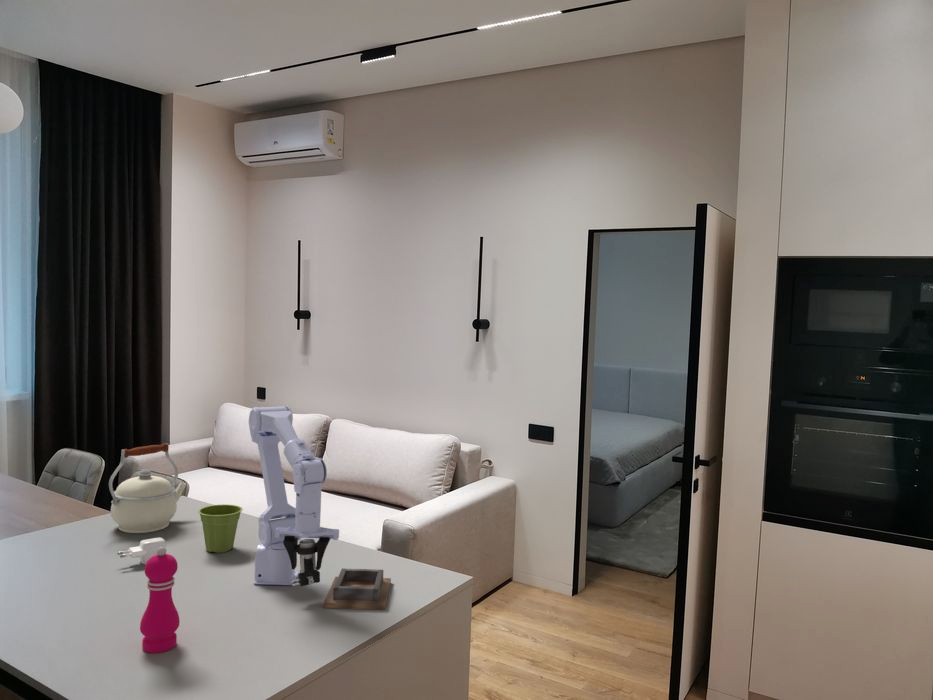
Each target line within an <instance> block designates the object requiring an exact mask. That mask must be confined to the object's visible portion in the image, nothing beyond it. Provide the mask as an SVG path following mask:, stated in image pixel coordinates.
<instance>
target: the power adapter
mask: <svg viewBox="0 0 933 700" xmlns="http://www.w3.org/2000/svg"><path fill="white" fill-rule="evenodd" d="M166 544H167V543H166V540H165V539H164V538H163V537H153V538H147V539H142V540H140V542H139V545H137V546H132V547H128V550H124V551H123V550H122V551H117V555H119V558H122V559H123V558H127V557H131V558H132V559H135V558H136V559H137V558H138V559H139V562H140V564H141V565H146V562H147V561H148V560H149V559H150V558H151V557H152V556H154V555H157V549H158V548H160V547H164V548H167V546H166Z"/></svg>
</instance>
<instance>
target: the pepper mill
mask: <svg viewBox="0 0 933 700" xmlns="http://www.w3.org/2000/svg"><path fill="white" fill-rule="evenodd" d="M166 548H167V547H166ZM166 548H164V547H160V548H158V549H157V555H154V556H152V557H151V558H150V559H149V560H148V561H147V562H146V565H145V566H144V574H145V576H146V578H148V579H147V580H146V588H147V589H148V590H149V591H148V592H149V598H148V603H147V607H146V608H145V611H144V612H143V614H142V617H141V620H140V624H139V631H140V633H141V634H142V636H144V637H142V640H141V641H142V642H141V647H142V650H143V651H144V652H146V653H149V654H150V653H151V654H152V653H153V654H158V653H163V652H167V651H169V650H172V649H173V648H174V647H175V646H176V645H177V643H178V642H177V640H178V639H177V637H178V636H177V633H176V631H177V630H178V629H179V627H180V616H179V612H178V610H177V608H176V606H175V603H174V600H173V597H172V596H173V594H172V593H173V592H172V590H173V587H174V586H175V577H174V575H175V574H176V573H177V571H178V567H179V566H178V561H177V559H176V558H175V557H174V555H171V554H169V553H167V549H166Z"/></svg>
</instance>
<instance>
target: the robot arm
mask: <svg viewBox="0 0 933 700" xmlns="http://www.w3.org/2000/svg"><path fill="white" fill-rule="evenodd" d="M293 421H294V417H293V411H292V409H291V408H290V407H289V405H282V406H281V405H280V406H279V405H278V406H264V407H263V406H262V407H261V406H259V407H257V406H254V407H252V408H251V410H250V411H249V416H248V427H249V434H250V437H251V442H253V443H255V444H257V447H258V453H259V458H260V459H259V460H260V466H261V472H262V477H263V484H264V491H265V498H266V503H267V508H266V509H265V510H264V511H263V512H262V513H261V514H260V515H259V517H258V538H259V539H258V540H259V541H260V543H259V544H258V545H257V547H256V549H255V557H254V559H255V560H254V580H253V584H254V585H269V586H270V585H271V586H273V585H274V586H293V585H292V584H295V582H293V580H296V579H298V573H300V571H296V569H297V566H298V565H297V564H298V557H297V554H298V553H297V549H296V545H298V544H299V542H300V541H301V539H317V541H316V543H317V552H316V570H318V571H319V570H320V569H321V568H322V564H323V563H322V562H323V559H324V555H325V553H326V549H327V547H328V545H329V543H330V541H331V540H333V541H338V540H339V538H340V528H339V529H338V528H337V529H336V528H330V527H325V526H324V527H323V526H321V512H322V511H321V510H322V484H324V483H326V480H327V475H328V474H327V473H328V471H327V470H328V469H327V466H326V463H325V461H324V459H323V458H322V457H321V458H320V457H318V456H315V455H314V453H313V452H312V451H311V449H310V447H309V445H308V443H306V441H305V440H304V439H301V438H299V437H298V435H297V433H296V431H295V428H294V426H293ZM280 442H281V443H282V445H283V446H284V448H283V454H284V456H285V458H286V460H287V462H288V464H289V465H290V466H291V469H292V472H291V473H292V475H291V476H292V480H293V489H294V492H295V493H296V495H295V507H294V506H293V505H291V504H289V503H288V497H287V491H286V486H285V485H286V484H285V479H284V474H283V467H282V461H281V457H280V450H279V443H280Z"/></svg>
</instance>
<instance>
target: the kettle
mask: <svg viewBox="0 0 933 700" xmlns="http://www.w3.org/2000/svg"><path fill="white" fill-rule="evenodd" d="M169 446H170V445H169V443H166V442H165V443H162V444H151V445H144V446H137V447H133V448H131V449H127V448H124V449H121V451H120V452H121V454H120V455H121V457H120V458H121V459H120V462H119V465H118V466H117V467H116V468H115V470H114V471H113V473H112V474H111V475H110V478H109V481H108V488H109V493H110V494H111V497H112V500H111V502H110V503H111V506H110V515H111V518H112V520H113V521H114V523H116V524H117V525H118V530H119V531H121V532H123V533H127V534H147V533H154V532H158V531H161V530H164V529H166V528H168V526H169V525H170V520H171V519H172V518H174V516H175V514H176V512H177V507H178V506H177V505H178V502H179V500H180V498H181V496H182V494H183V491H184V490H185V487H186V485H187V483H185V482H180V483H179V484H178V486H177V487H175V486H176V483H177V480H178V477H179V468H178V465H177V464H176V463H175V462H174V460H173V459H172V458H171V457H170V455H169V454H170V453H169ZM159 452H160V453H161V452H163V453H164V454H165V457H166V458H167V460H168V461H169V463H171V464H172V465H171V466H173V468H174V476H173V479H172V482H171V481H170V480H168V479H167V478H164V477H162V476H158V475H157V476H155V475H153V472H152V471H151V470H150V469H147V468H143V469H141V470H140V471H139V472H138V473H137V475H138V476H135V477H131V478H127V479H125V480H124V481H122V482H121V483H120V484H119V485H118V486H117V487H116V490H114V488H113V487H114V486H113V482H114V479H115V477H116V476H117V474H118V472H119V471H120V470H121V469H122V467H123V466H124V463H125V459H127V458H128V457H138V456H145V455H151V454H152V455H153V454H158V453H159Z"/></svg>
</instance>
